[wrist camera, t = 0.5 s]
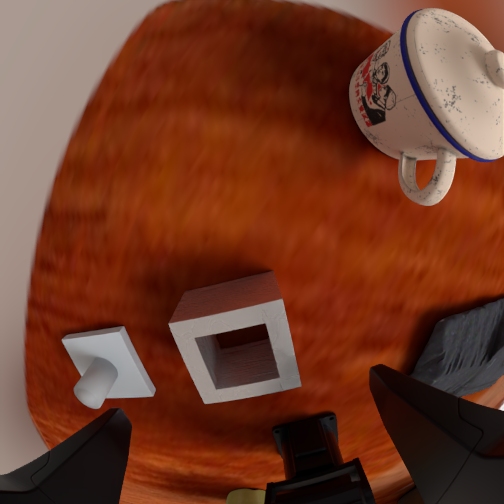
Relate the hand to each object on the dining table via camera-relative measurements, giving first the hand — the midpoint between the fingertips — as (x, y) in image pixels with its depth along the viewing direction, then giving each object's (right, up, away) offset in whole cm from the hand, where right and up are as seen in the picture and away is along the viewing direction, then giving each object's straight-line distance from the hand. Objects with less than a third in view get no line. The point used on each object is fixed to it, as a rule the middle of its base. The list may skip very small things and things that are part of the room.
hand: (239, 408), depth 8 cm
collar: (0, 0, +12) cm, 12 cm away
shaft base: (-13, -5, +13) cm, 19 cm away
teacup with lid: (+11, +15, +9) cm, 21 cm away
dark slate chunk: (+27, -6, +16) cm, 32 cm away
